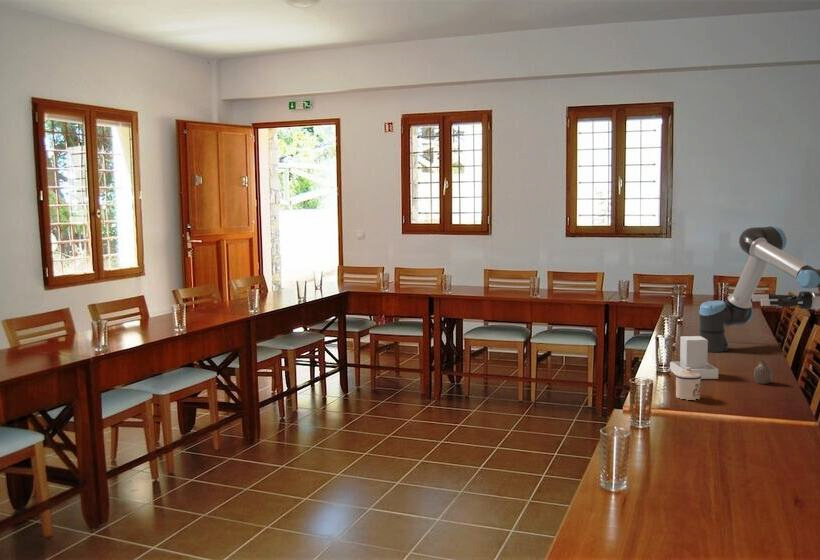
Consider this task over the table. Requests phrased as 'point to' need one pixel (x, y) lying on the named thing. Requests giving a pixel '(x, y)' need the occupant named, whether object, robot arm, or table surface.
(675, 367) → the white bin
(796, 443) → the table surface
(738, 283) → the robot arm
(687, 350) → the supplement box
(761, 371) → the vase
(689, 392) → the teacup with lid
